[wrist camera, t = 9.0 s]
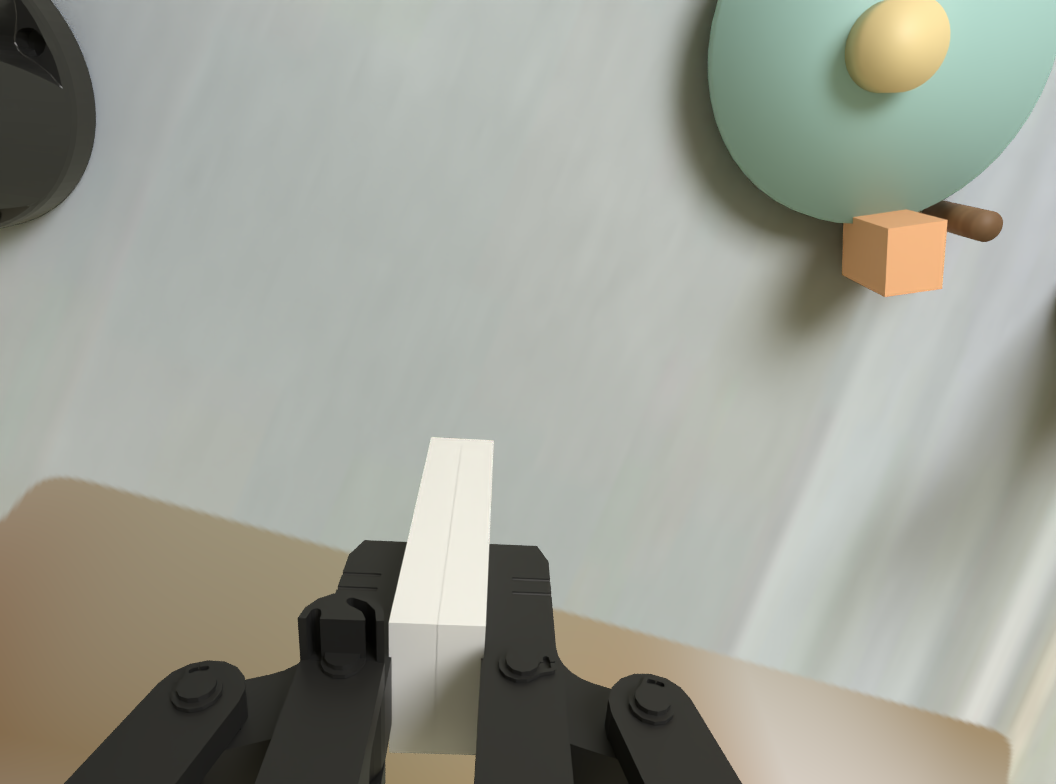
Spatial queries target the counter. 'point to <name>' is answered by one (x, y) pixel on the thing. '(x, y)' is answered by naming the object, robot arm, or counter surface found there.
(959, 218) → the dowel
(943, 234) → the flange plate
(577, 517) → the counter surface
